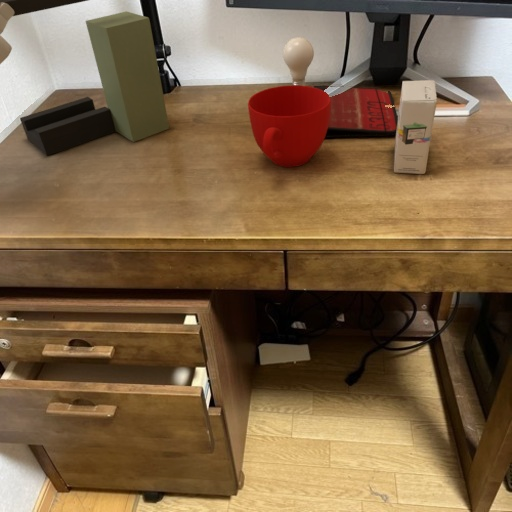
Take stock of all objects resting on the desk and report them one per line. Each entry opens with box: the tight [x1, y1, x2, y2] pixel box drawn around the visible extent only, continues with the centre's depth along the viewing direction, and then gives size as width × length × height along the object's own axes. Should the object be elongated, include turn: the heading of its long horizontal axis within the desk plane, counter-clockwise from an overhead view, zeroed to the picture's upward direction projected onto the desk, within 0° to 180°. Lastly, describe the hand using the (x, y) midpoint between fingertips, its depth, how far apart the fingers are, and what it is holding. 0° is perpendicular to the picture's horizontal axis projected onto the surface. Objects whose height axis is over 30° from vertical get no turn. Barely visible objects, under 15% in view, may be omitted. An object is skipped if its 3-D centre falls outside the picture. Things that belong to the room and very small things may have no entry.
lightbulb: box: [282, 36, 315, 86], centre depth 104 cm, size 6×6×11 cm
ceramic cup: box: [247, 84, 331, 168], centre depth 79 cm, size 13×17×10 cm
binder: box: [312, 85, 398, 138], centre depth 95 cm, size 16×2×21 cm
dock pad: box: [19, 96, 116, 157], centre depth 95 cm, size 10×14×4 cm
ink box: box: [393, 79, 438, 175], centre depth 76 cm, size 8×5×12 cm, turn 167°
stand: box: [85, 11, 170, 143], centre depth 90 cm, size 8×8×20 cm
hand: (4, 4), depth 73 cm, fingers closed on pad strip, 3 cm apart
